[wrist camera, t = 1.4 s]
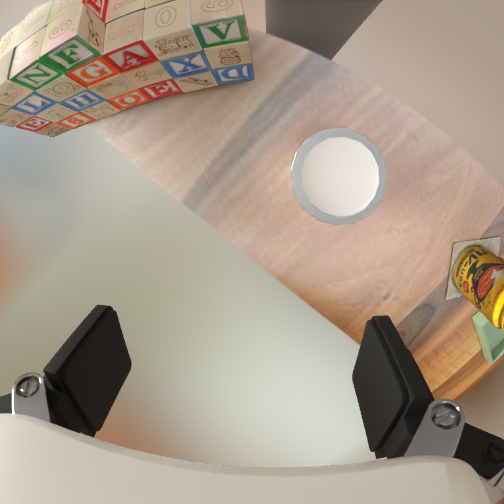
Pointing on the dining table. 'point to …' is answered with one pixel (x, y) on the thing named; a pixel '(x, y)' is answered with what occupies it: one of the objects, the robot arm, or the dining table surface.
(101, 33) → the stack of blocks
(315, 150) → the shot glass
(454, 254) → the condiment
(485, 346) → the tray
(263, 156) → the dining table surface
